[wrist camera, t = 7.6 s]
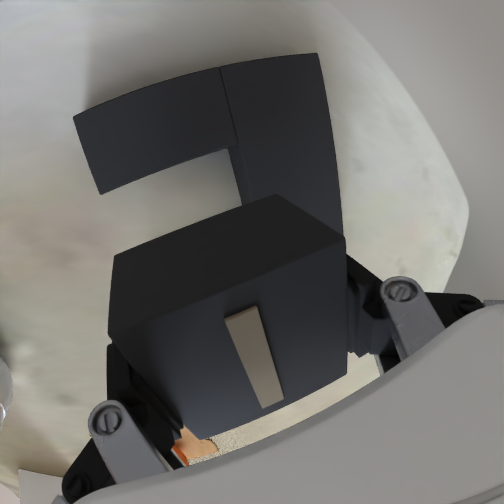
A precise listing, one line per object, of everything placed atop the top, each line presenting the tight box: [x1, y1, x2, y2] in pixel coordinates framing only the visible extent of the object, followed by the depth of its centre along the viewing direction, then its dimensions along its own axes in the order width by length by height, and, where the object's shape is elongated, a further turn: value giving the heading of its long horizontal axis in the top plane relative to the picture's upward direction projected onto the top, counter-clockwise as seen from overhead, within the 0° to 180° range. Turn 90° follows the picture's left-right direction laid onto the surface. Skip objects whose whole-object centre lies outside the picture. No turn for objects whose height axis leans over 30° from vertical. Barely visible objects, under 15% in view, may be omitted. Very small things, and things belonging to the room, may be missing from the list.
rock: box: [90, 426, 219, 466], centre depth 26 cm, size 12×12×4 cm
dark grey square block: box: [108, 194, 348, 440], centre depth 9 cm, size 6×6×4 cm
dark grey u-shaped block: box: [73, 53, 343, 235], centre depth 17 cm, size 16×13×2 cm
